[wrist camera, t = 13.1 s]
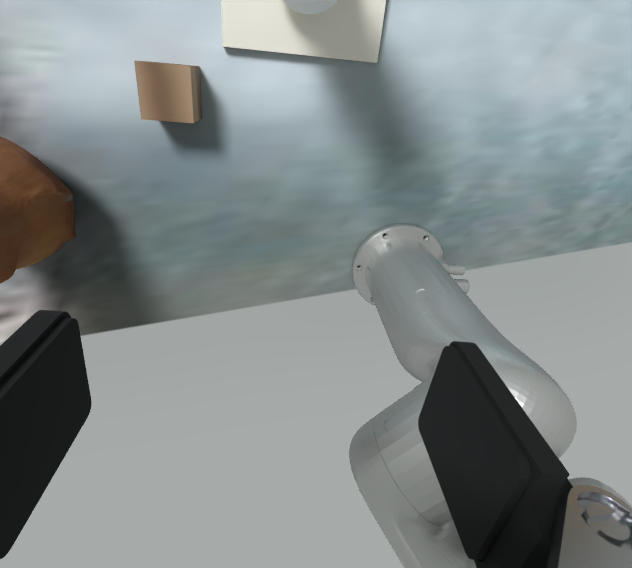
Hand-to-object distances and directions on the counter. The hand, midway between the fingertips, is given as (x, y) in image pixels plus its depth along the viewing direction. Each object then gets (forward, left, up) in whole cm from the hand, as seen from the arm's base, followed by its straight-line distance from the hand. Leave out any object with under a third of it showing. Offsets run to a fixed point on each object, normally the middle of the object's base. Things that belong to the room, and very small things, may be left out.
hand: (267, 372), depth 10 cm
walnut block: (+11, -4, -40) cm, 41 cm away
